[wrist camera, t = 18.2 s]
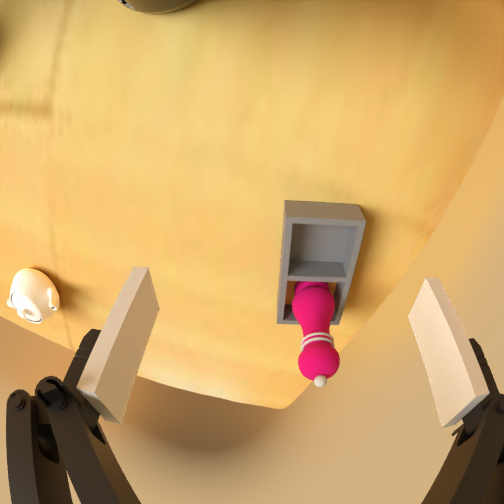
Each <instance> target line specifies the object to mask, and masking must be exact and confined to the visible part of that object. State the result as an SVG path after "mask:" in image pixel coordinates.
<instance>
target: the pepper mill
mask: <svg viewBox="0 0 504 504" xmlns="http://www.w3.org/2000/svg"><path fill="white" fill-rule="evenodd" d="M294 296H295V297H294V299H293V301H292V309H293V313H294V316H295V318H296V319H297V321H298V322H299V324H300V325H301V327H302V330H303V335H304V337H303V339H302V341H301V351H302V352H301V354H300V356H299V359H298V365H299V369H300V371H301V373H302V374H303V375H304V376H305V377H306V378H308V379H310V380H314V383H315V385H316V386H317V387H323V386H325V385H326V383H327V379H328V378H330V377H331V376H333V375H334V374H335V373H336V371H337V370H338V367H339V363H340V362H339V361H340V358H339V354H338V352H337V351H336V349H335V348H334V339H333V337H332V336H331V335H330V333H329V327H330V322H331V319H332V317H333V314H334V309H335V303H334V297H333V295H332V294H331V293H330V290H329V284H328V282H312V281H297V282H296V284H295V286H294Z"/></svg>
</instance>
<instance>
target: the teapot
mask: <svg viewBox="0 0 504 504" xmlns="http://www.w3.org/2000/svg"><path fill="white" fill-rule="evenodd" d="M59 302H60V300H59V295H58V292H57V289H56V287H55V285H54V283H53V282H52V281H51V280H50V278H49V277H48V276H46V275H45V274H44V273H42V272H41V271H39V270H36V269H30V268H25V269H22V270H20V271H19V272H18V273H17V274H16V275H15V277H14V280H13V282H12V286H11V291H10V298H9V299H8V300H7V305H8V306H9V307H13V308H15V309H16V311H17V313H18V315H19V316H20V317H21V318H24V319H26V320H28V321H30V322H33V323H41V322H43V321H45V320H47V319H48V318H50V317H51V316H52V315H54V313H55V312H56V311H57V310H58V308H59Z"/></svg>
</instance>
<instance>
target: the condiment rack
mask: <svg viewBox="0 0 504 504" xmlns="http://www.w3.org/2000/svg"><path fill="white" fill-rule="evenodd" d="M365 224H366V220H365V218H364V216H363V213H362V211H361V209H360V207H359V205H356V204H342V203H326V202H309V201H288V200H285V203H284V219H283V234H282V248H281V262H280V275H279V287H278V299H277V324H299V322H298V321H297V319H296V318H295V316H294V313H293V309H292V301H293V299H294V297H295V296H294V286H295V284H296V282H297V281H312V282H328V284H329V290H330V293H331V294H332V295H333V297H334V303H335V309H334V314H333V317H332V319H331V322H330V325H339V323H340V320H341V316H342V313H343V309H344V306H345V303H346V299H347V296H348V292H349V289H350V285H351V281H352V277H353V274H354V270H355V266H356V262H357V258H358V254H359V250H360V246H361V242H362V237H363V233H364V229H365Z"/></svg>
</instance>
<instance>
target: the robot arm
mask: <svg viewBox="0 0 504 504" xmlns="http://www.w3.org/2000/svg"><path fill="white" fill-rule="evenodd" d="M118 1H119V2H120V3H122V4H123V5H124V6H126V7H128V8H130V9H132V10H135V11H139V12H142V13H147V14H166V13H171V12H175V11H178V10H181V9H183V8H186V7H188V6H190V5H192V4H193V3H195V2H197V1H198V0H118ZM158 312H159V305H158V302H157V298H156V294H155V291H154V287H153V283H152V279H151V276H150V272H149V268H148V267H133V269H132V271H131V273H130V274H129V276H128V278H127V280H126V282H125V284H124V286H123V288H122V290H121V292H120V294H119V296H118V298H117V300H116V301H115V303H114V305H113V308H112V310H111V312H110V314H109V316H108V318H107V320H106V322H105V324H104V326H103V328H102V330H96V329H91V330H90V331H89V332H88V333H87V334H86V335H85V336H84V337H83V339H82V342H81V344H80V346H79V349H78V350H77V352H76V354H75V357H74V358H73V361H72V363H71V365H70V367H69V369H68V372H67V374H66V376H65V378H64V381H63V382H62V381H61V380H60V379H58V378H57V377H54V376H49V377H45V378H44V379H42V380H41V381H40V382H39V383H38V384H37V386H36V389H35V396H30V395H29V394H28V393H27V392H26V391H24V390H16V391H14V392H13V393H12V394H10V396H9V398H8V401H7V410H6V411H7V412H6V446H7V465H8V477H9V486H10V494H11V501H12V504H73V502H72V498H71V493H70V488H69V483H68V477H67V472H68V475H69V477H70V480H71V482H72V484H73V486H74V489H75V491H76V493H77V495H78V497H79V500H80V502H81V504H141V503H140V501H139V499H138V498H137V496H136V494H135V493H134V491H133V489H132V487H131V486H130V484H129V482H128V480H127V479H126V477H125V475H124V473H123V471H122V469H121V468H120V466H119V464H118V462H117V460H116V458H115V456H114V454H113V452H112V450H111V448H110V446H109V443H108V442H107V439H106V437H105V435H104V433H103V430H102V428H101V426H100V424H99V422H98V419H99V416H100V415H101V416H102V418H104V419H105V420H106V421H110V422H114V423H117V424H122V421H123V417H124V413H125V410H126V407H127V404H128V401H129V397H130V394H131V390H132V387H133V385H134V381H135V378H136V375H137V372H138V369H139V366H140V363H141V360H142V357H143V354H144V351H145V348H146V345H147V343H148V340H149V337H150V334H151V331H152V328H153V325H154V323H155V320H156V317H157V314H158ZM408 318H409V321H410V323H411V326H412V329H413V332H414V335H415V338H416V341H417V344H418V346H419V350H420V353H421V356H422V359H423V362H424V365H425V369H426V372H427V375H428V379H429V382H430V385H431V389H432V393H433V396H434V400H435V404H436V408H437V412H438V416H439V420H440V424H441V428H443V427H448V426H451V425H455V424H456V423H457V422H459V421H460V420H461V419H462V420H463V423H464V424H462V425H461V426H460V427H459V428H458V429H456V430H455V431H454V432H453V433H452V436H454V435H455V434H456V433H458V434H457V436H456V439H455V441H454V443H453V445H452V447H451V450H450V452H449V454H448V456H447V458H446V460H445V462H444V464H443V466H442V468H441V470H440V472H439V474H438V476H437V477H436V479H435V481H434V483H433V485H432V487H431V488H430V490H429V492H428V493H427V495H426V497H425V498H424V500H423V502H422V503H421V504H504V394H500V393H499V391H498V389H497V386H496V383H495V381H494V378H493V375H492V373H491V370H490V368H489V366H488V365H487V361H486V358H484V353H483V351H482V349H481V346H480V345H479V344H478V343H477V342H476V340H475V339H474V338H472V339H468V337H467V335H466V333H465V330H464V328H463V326H462V324H461V322H460V320H459V318H458V315H457V313H456V311H455V309H454V307H453V305H452V303H451V301H450V300H449V297H448V295H447V294H446V291H445V290H444V288H443V286H442V284H441V282H440V280H439V278H429V277H428V278H425V281H424V283H423V285H422V287H421V290H420V292H419V294H418V297H417V298H416V301H415V303H414V305H413V307H412V309H411V311H410V313H409V316H408ZM66 470H67V472H66Z"/></svg>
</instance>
